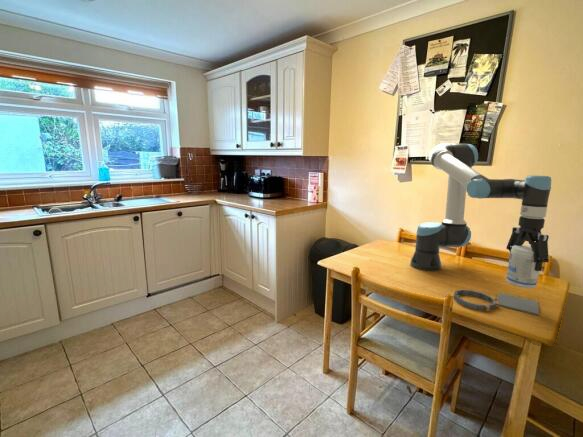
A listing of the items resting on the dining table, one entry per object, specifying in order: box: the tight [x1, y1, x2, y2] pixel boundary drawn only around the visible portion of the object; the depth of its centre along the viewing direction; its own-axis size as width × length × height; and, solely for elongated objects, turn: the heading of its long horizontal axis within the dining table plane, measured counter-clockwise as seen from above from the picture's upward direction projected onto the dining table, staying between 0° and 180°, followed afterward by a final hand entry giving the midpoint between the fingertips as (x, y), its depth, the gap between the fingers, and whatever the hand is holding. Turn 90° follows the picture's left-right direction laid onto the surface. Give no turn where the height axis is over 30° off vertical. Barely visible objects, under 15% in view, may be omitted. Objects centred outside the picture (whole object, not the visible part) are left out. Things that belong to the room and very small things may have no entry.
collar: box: [453, 289, 499, 313], centre depth 119 cm, size 15×14×2 cm
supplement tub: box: [506, 244, 539, 289], centre depth 115 cm, size 10×10×15 cm
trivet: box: [496, 292, 540, 317], centre depth 118 cm, size 13×13×1 cm
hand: (522, 273), depth 116 cm, fingers closed on supplement tub, 10 cm apart
